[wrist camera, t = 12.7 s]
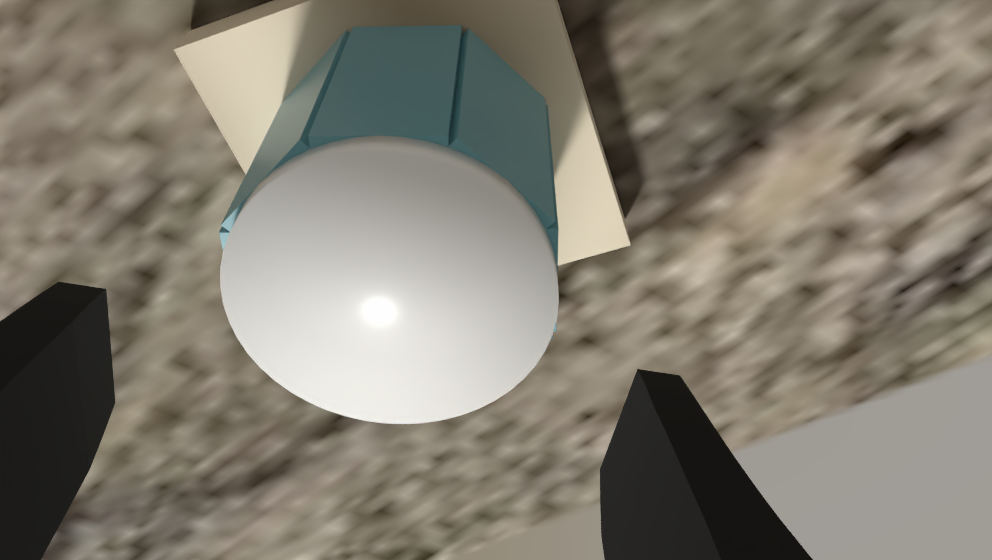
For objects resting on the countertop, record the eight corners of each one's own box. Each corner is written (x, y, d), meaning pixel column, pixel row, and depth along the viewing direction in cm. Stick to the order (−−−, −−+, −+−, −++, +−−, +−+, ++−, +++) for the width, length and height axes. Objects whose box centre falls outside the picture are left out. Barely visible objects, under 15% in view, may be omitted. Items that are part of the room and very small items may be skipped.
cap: (601, 150, 18) (628, 300, 14) (429, 300, 20) (408, 467, 16) (402, -34, 16) (365, 77, 12) (234, 155, 18) (154, 305, 14)
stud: (340, 301, 21) (305, 437, 18) (188, 30, 17) (104, 132, 14) (625, 220, 20) (651, 350, 16) (528, -93, 16) (534, -17, 12)
